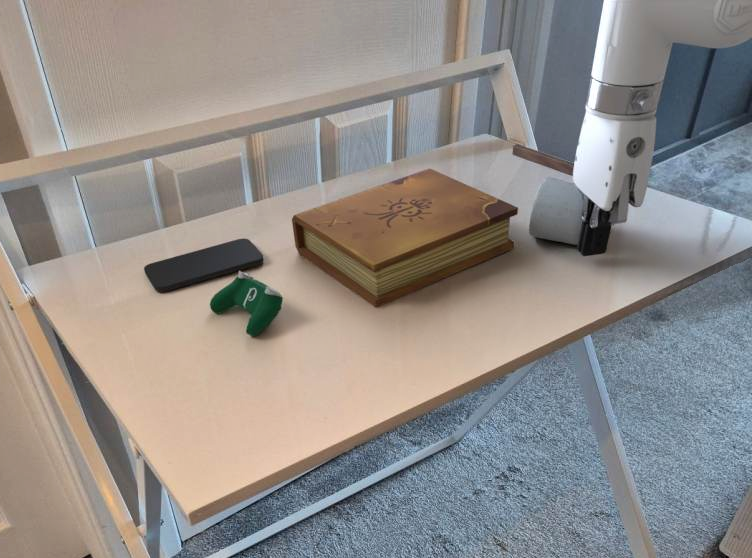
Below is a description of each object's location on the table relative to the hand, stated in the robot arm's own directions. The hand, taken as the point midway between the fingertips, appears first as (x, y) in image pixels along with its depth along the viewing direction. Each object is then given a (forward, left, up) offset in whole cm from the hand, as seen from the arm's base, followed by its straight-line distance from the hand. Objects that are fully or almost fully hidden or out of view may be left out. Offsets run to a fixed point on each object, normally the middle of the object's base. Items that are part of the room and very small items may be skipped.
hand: (591, 252), depth 87 cm
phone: (+49, +11, -2) cm, 51 cm away
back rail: (+9, -33, -2) cm, 34 cm away
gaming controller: (+38, +21, -2) cm, 44 cm away
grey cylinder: (+4, -7, -2) cm, 9 cm away
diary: (+24, +1, -2) cm, 24 cm away
